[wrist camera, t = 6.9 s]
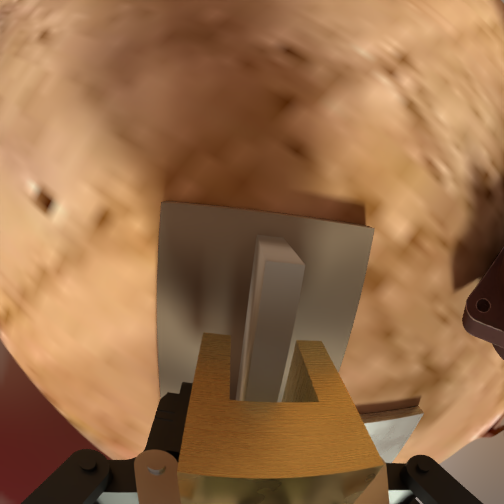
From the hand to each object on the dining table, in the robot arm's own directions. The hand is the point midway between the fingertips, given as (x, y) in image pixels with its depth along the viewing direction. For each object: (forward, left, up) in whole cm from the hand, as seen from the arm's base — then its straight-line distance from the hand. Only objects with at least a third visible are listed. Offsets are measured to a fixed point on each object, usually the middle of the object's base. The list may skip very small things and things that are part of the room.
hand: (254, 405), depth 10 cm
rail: (+3, 0, -5) cm, 6 cm away
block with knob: (0, 0, 0) cm, 1 cm away
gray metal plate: (+10, +11, -5) cm, 16 cm away
